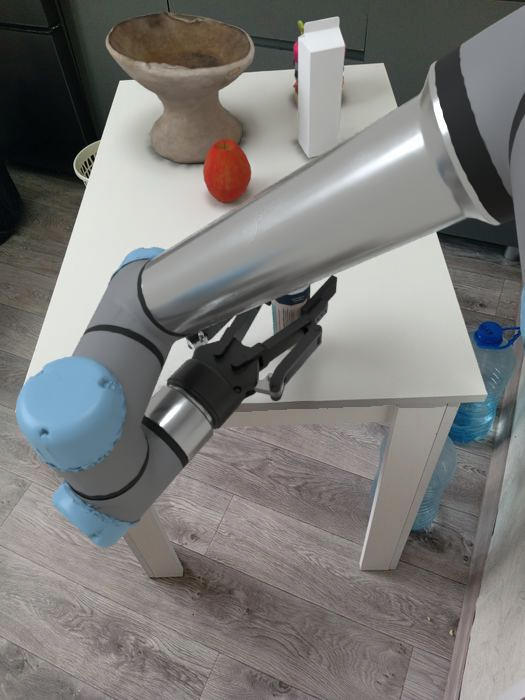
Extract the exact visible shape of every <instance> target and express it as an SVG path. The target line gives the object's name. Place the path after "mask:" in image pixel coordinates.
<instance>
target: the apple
mask: <svg viewBox="0 0 525 700" xmlns="http://www.w3.org/2000/svg"><path fill="white" fill-rule="evenodd" d="M203 163H204V164H203V169H202V173H203V181H204V183H205V185H206V188H207V190H208V193H210V196H212V197H213V198H214V199H215V200H216V201H217V202H220V203H223V204H224V203H233V202H235V201H237V200H238V199H240V198H241V197H242V196H243V195H244V194H245V193H246V191H247V189H248V187H249V185H250V182H251V179H252V167H251V164H250V161H249V159H248V157H247V154H246V153H245V151H244V150H243V149H242V147H240V145H239V144H238V145H237V144H236V143H235V142H234V141H232V140H229V139H222V140H220V141H218V142H216V143H214V144H213V145H212V147H211V148H210V150H209V152H208V154H207V157H206V160H205V162H203Z"/></svg>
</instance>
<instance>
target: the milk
mask: <svg viewBox="0 0 525 700" xmlns="http://www.w3.org/2000/svg"><path fill="white" fill-rule="evenodd" d="M303 24H304V34H301V35H299V36H298V37H297V40H298V105H297V143H298V144H299V145H300V147H301V149H302V151H303V152H304V154H305V155H306V157H307V159H311V158H317V157H318V156H320V155H321V154H323V153H325V152H326V151H328V150H330V149H331V148H333V147H334V146H336V145H338V144H339V139H340V138H339V137H340V123H341V109H342V95H343V88H342V83H343V76H344V72H343V68H344V69H345V65H344V62H345V55H346V52H345V44H346V42H345V40H344V37H343V35H342V31H341V27H340V17H339V16H333V17H332V16H331V17H328V18H323V19H318V20H313V21H307V22H305V23H303ZM344 42H345V43H344ZM344 54H345V55H344Z"/></svg>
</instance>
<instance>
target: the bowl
mask: <svg viewBox="0 0 525 700" xmlns="http://www.w3.org/2000/svg"><path fill="white" fill-rule="evenodd" d="M105 47H106V49H107V50H108V52H109V54H110V55H111V57H112V58H113V59H114V61H115V62H116V63H117V64H118V65H119V66H120V67H121V69H122V70H123V71H124V72H125V73H126V74H127V75H128V76H129V77H130V78H131V79H133V80H134V81H135V82H137V84H139V85H140V86H142V87H143V88H145V89H146V90H148V91H149V92H151V93H153V94H155V95H156V97H157V98H158V99H159V101H160V102H161V104H162V107H163V112H162V115H160V117H158V118H157V119H156V120H155V122H154V123H153V125H152V128H151V131H150V135H149V136H150V137H149V139H150V144H151V147H152V149H153V151H154V152H155V153H156V154H157V155H158V156H161V157H162V158H164V159H167V160H170V161H172V162H174V163H179V164H199V163H200V164H202V163H205V160H206V157H207V154H208V152H209V150H210V148H211V147H212V145H213V144H214V143H216V142H218V141H220V140H222V139H229V140H232V141H234V142H235V143H236V144H237V145H238V146H239V143H240V142H241V139H242V134H243V127H242V124H241V123H240V122H239V120H238V119H237V117H236V116H234V115H233V113H231V111H229V110H228V109H227V108H225V107H224V106H223V104H222V103H221V101H220V95H219V92H220V91H221V90H223V89H225V88H227V87H228V86H230V84H233V82H235V81H237V79H238V78H239V77H240V76H241V75H243V74H244V73H245V72H246V70H247V69H248V68H249V67H250V65H251V64H252V63H253V60H254V57H255V49H256V48H255V44H254V41H253V40H252V37H251V36H250V35H249V34H248V33H247V32H246V31H245V30H244V29H242V28H240V27H238V26H236V25H232V24H228V23H225V22H222V21H219V20H215V19H212V18H209V17H204V16H199V15H192V14H187V13H186V14H182V13H174V12H169V11H167V10H165V11H161V12H154V13H148V14H144V15H137V16H133V17H130V18H127V19H125V20H122V21H120V22H118V23H117V24H115V25H114V26H113V27H112V28H111V29H110V31H109V32H108V34H107V35H106V38H105Z"/></svg>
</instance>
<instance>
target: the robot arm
mask: <svg viewBox="0 0 525 700" xmlns="http://www.w3.org/2000/svg"><path fill="white" fill-rule="evenodd" d="M467 219H476V220H479V221H481V222H484V223H486V224H489V225H492V226H496V227H497V226H500V225H502V224H505V223H508V222H510V221H513V220H515V228H516V237H517V243H518V245H517V246H518V254H519V262H520V269H521V271H520V272H521V278H522V292H521V300H520V311H519V312H520V313H519V321H520V322H519V330H520V335H521V341H522V346H523V354H524V356H525V4H524V5H523V6H521V7H519V8H518V9H516V10H514V11H512V12H511V13H509V14H507V15H506V16H504V17H502V18H501V19H499V20H498V21H496V22H494V23H492V24H491V25H489V26H487V27H485V28H484V29H483V30H481V31H480V32H478V33H477V34H475V35H474V36H472V37H471V38H469V39H467V40H466V41H464V42H463V43H461V44H460V45H459V46H457V47H455V48H454V49H452V50H451V51H449V52H447V53H446V54H445V55H443V56H441V57H440V58H437V60H435V61H434V62H432V64H430V67H429V69H428V72H427V75H426V78H425V81H424V84H423V87H422V88H421V91H420V93H419V94H417V95H415V96H414V97H412V98H410V99H409V100H407V101H406V102H404V103H403V104H401V105H400V106H398V107H396V108H395V109H393V110H391V111H389V112H388V113H387V114H386V113H385V115H383V116H382V117H380V118H378V119H376V120H375V121H373V122H372V123H370V124H368V125H367V126H365V127H364V128H362V129H361V130H359V131H357V132H355V133H354V134H353V135H351V136H349V137H348V138H346V139H344V140H342V141H341V142H338V145H336V146H334V147H333V148H331V149H330V150H328V151H326V152H325V153H323V154H321V155H320V156H316V157H314V158H313V159H312V160H310V161H308V162H307V163H305V164H304V165H302V166H301V167H299V168H297V169H295V170H294V171H292V172H291V173H289V174H288V175H285V176H284V177H282V178H281V179H280V180H277V181H276V182H275V183H273V184H271V185H270V186H268V187H266V188H264V189H263V190H262V191H259V192H258V193H256V194H255V195H254V196H253V195H252V197H250V198H249V199H247V200H244V201H243V202H242V203H240V204H239V205H237V206H235V207H234V208H232V209H230V210H229V211H227V212H225V213H224V214H222V215H221V216H219V217H218V218H216V219H214V220H212V221H211V222H210V223H208V224H206V225H204V226H203V227H201V228H199V229H198V230H196V231H195V232H193V233H191V234H190V235H188V236H186V237H185V238H183V239H182V240H180V241H178V242H177V243H175V244H174V245H171V246H170V247H169V248H167V249H165V248H162V247H157V246H151V247H150V248H145V247H138V248H135V249H134V250H132V251H130V252H129V253H128V254H127V255H126V256H125V257H124V259H123V260H122V261H121V263H120V265H119V266H118V267H117V269H116V270H115V271H114V272H113V273H112V275H111V277H110V278H109V281H108V283H107V287H106V289H105V291H104V293H103V294H102V296H101V299H100V301H99V303H98V305H97V307H96V309H95V310H94V312H93V315H92V316H91V318H90V320H89V322H88V325H87V326H86V329H85V330H84V332H83V334H82V336H81V338H80V339H79V341H78V343H77V345H76V347H75V348H74V350H73V352H72V354H71V356H64V357H61V358H58V359H54V360H53V361H50V362H48V363H45V365H43V366H42V369H41V370H40V371H39V372H37V373H36V374H35V375H32V376H30V377H28V379H27V380H26V382H25V383H24V384H23V385H22V388H21V389H20V392H19V393H18V396H17V400H16V404H15V419H16V422H17V426H18V428H19V430H20V431H21V434H23V436H24V438H25V440H26V441H27V442H28V444H29V446H31V448H32V449H33V451H34V452H35V454H36V455H37V456H38V457H39V459H40V460H41V461H42V462H43V463H45V464H46V465H47V466H48V467H49V468H51V469H52V470H54V471H55V473H57V474H58V475H59V476H60V477H61V478H62V479H63V481H62V483H61V484H60V485H59V487H58V488H57V489H56V490H55V491H54V492H53V494H52V497H51V502H52V505H53V507H55V509H56V510H57V511H58V512H59V513H60V514H61V515H62V516H64V517H65V518H66V519H67V520H68V521H69V522H70V523H71V524H72V525H73V526H75V528H76V529H78V530H79V531H80V532H81V533H82V534H83V535H84V536H85V537H87V538H88V539H89V540H90V541H91V542H92V543H93V544H94V545H95V546H97V547H98V548H101V549H109V548H112V547H113V546H115V545H116V544H117V543H118V542H119V541H120V539H122V538H123V537H124V536H125V535H126V534H127V533H128V532H129V531H130V530H131V529H132V528H133V527H135V526H137V524H138V523H140V521H141V518H142V517H143V516H144V515H145V514H146V512H147V511H148V510H149V509H150V508H151V507H152V505H153V504H154V503H155V502H156V501H157V500H158V498H159V497H160V496H161V495H162V494H163V493H164V492H165V490H166V489H167V488H168V487H169V486H170V485H171V483H172V482H173V481H174V480H175V479H176V478H177V477H178V475H180V473H181V472H182V471H183V469H184V468H185V467H186V466H187V465H188V464H189V463H190V462H191V461H192V460H193V459H194V458H195V457H196V456H197V454H199V452H200V451H201V450H202V449H203V448H204V446H205V445H207V443H208V442H209V441H210V440H211V439H212V437H213V436H214V430H217V429H221V428H222V426H223V425H224V424H225V423H226V422H227V421H228V419H230V417H231V416H232V415H233V414H234V413H235V412H236V410H237V409H238V408H239V407H240V405H241V404H242V403H243V401H244V400H246V399H247V398H249V397H252V396H254V395H255V394H256V393H258V394H264V395H268V396H269V398H270V400H271V401H272V402H278V401H280V400H281V399H282V397H283V394H284V391H285V389H286V385H287V384H288V383H289V382H290V381H291V380H292V378H293V377H294V376H295V375H296V374H297V373H298V372H299V370H300V369H301V368H302V367H303V366H304V364H306V362H307V361H308V359H309V358H310V357H311V356H312V355H313V354H314V353H315V351H316V350H317V349H318V348H319V347H320V346H321V344H322V342H323V327H322V325H320V324H319V322H320V321H321V320H322V319H323V318H324V317H325V316H326V314H327V313H328V310H329V302H330V300H331V299H333V297H334V296H335V295H336V293H337V285H338V277H337V276H335V275H337V274H339V273H341V272H343V271H346V270H348V269H351V268H353V267H356V266H357V265H358V266H359V265H360V264H362V263H365V262H367V261H369V260H372V259H375V258H377V257H379V256H382V255H384V254H386V253H388V252H391V251H394V250H396V249H398V248H401V247H403V246H406V245H408V244H410V243H413V242H415V241H417V240H419V239H423V238H425V237H427V236H430V235H431V234H434V233H436V232H439V231H442V230H443V229H447V228H449V227H451V226H454V225H456V224H458V223H461V222H463V221H465V220H467ZM327 278H328V279H327ZM324 279H327V280H326V281H325V282H324V283H323V284H322V285H320V287H319V288H318V289H317V290H316V291H315V292H314V294H312V295H311V296H310V299H309V300H308V301H307V302H306V304H305V305H304V306H303V307H302V308H301V317H300V318H298V319H297V320H295V321H294V322H292V323H291V324H289V325H288V326H286V327H285V328H283V329H282V330H280V331H279V332H277V333H276V334H274V335H273V334H272V336H270V337H269V338H266V339H265V340H264V341H262V342H260V341H259V342H256V343H255V344H254V345H252V346H248V345H245V344H243V343H242V342H243V340H244V339H245V337H246V335H247V333H248V331H249V330H250V328H251V326H252V325H253V323H254V321H255V319H256V318H257V316H258V313H259V312H260V311H261V309H262V307H263V305H266V306H268V307H271V306H272V303H271V301H272V300H274V299H277V298H279V297H282V296H284V295H286V294H289V293H291V292H293V291H296V290H298V289H301V288H303V287H305V286H308V285H310V284H311V285H313V284H315V283H317V282H320V281H322V280H324ZM232 319H233V321H232V322H231V324H230V325H229V326H227V327H226V328H225V330H224V331H223V333H222V335H221V336H220V338H219V340H216V341H212V342H210V341H211V340H212V339H213V338H214V337H215V336H217V334H218V333H219V332H220V331H221V330H222V329H223V328H224V327H225V326H226V325H227V324H228V323H230V321H231V320H232ZM182 339H185V341H186V344H187V347H188V349H190V350H193V353H192V357H191V358H189V359H186V360H185V361H184V362H183V363H182V364H181V365H180V366H179V367H178V368H177V369H176V370H175V371H174V372H173V373H172V374H171V375H170V376H169V377H168V378H167V380H166V385H160V386H158V388H157V389H156V386H157V384H158V382H159V379H160V376H161V374H162V372H163V369H164V367H165V364H166V362H167V359H168V357H169V354H170V352H171V349H172V348H173V345H174V344H175V343H176V342H178V341H180V340H182ZM295 344H296V345H295ZM294 345H295V346H294ZM292 346H294V348H293V349H292V350H288V349H289V348H291V347H292ZM286 351H289V352H288V353H287V354H286V355H285V356H284V357H283V358H282V359H281V361H279V363H278V364H277V366H276V367H275V369H274V370H273V372H269V373H267V375H266V376H265V377H264V378H263V379H260V372H262V371H263V370H264V369H266V368H268V366H269V365H270V363H271V362H272V361H274V360H275V359H277V358H279V356H281V355H282V354H284V353H285V352H286Z"/></svg>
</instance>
